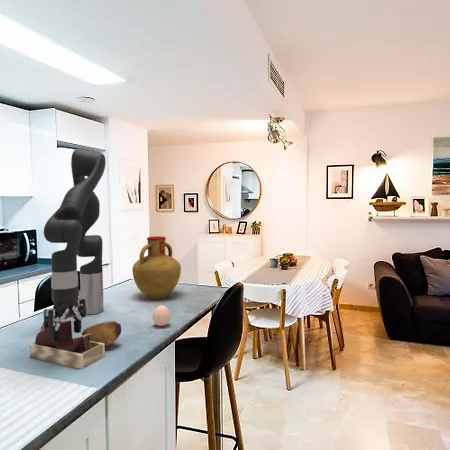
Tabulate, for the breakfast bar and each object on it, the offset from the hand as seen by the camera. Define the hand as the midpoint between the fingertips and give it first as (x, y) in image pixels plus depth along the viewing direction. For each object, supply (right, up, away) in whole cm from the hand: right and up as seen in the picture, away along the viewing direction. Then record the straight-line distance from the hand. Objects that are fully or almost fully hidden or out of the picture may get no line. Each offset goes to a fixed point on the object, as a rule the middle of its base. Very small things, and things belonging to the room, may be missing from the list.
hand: (66, 337), depth 114 cm
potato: (+8, -6, +8) cm, 13 cm away
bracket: (-1, -5, +1) cm, 5 cm away
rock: (-14, -5, +21) cm, 26 cm away
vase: (+15, -2, +72) cm, 73 cm away
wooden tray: (0, -6, 0) cm, 6 cm away
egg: (+24, -5, +28) cm, 38 cm away
